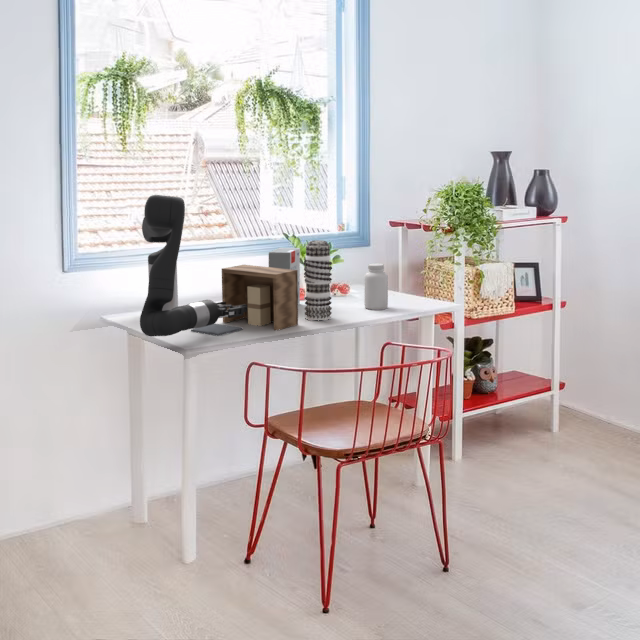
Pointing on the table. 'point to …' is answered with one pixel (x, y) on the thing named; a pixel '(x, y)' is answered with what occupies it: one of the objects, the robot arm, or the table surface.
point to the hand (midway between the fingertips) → (235, 306)
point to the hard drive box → (286, 261)
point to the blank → (259, 305)
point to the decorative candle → (317, 280)
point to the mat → (217, 329)
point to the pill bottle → (376, 287)
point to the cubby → (280, 291)
